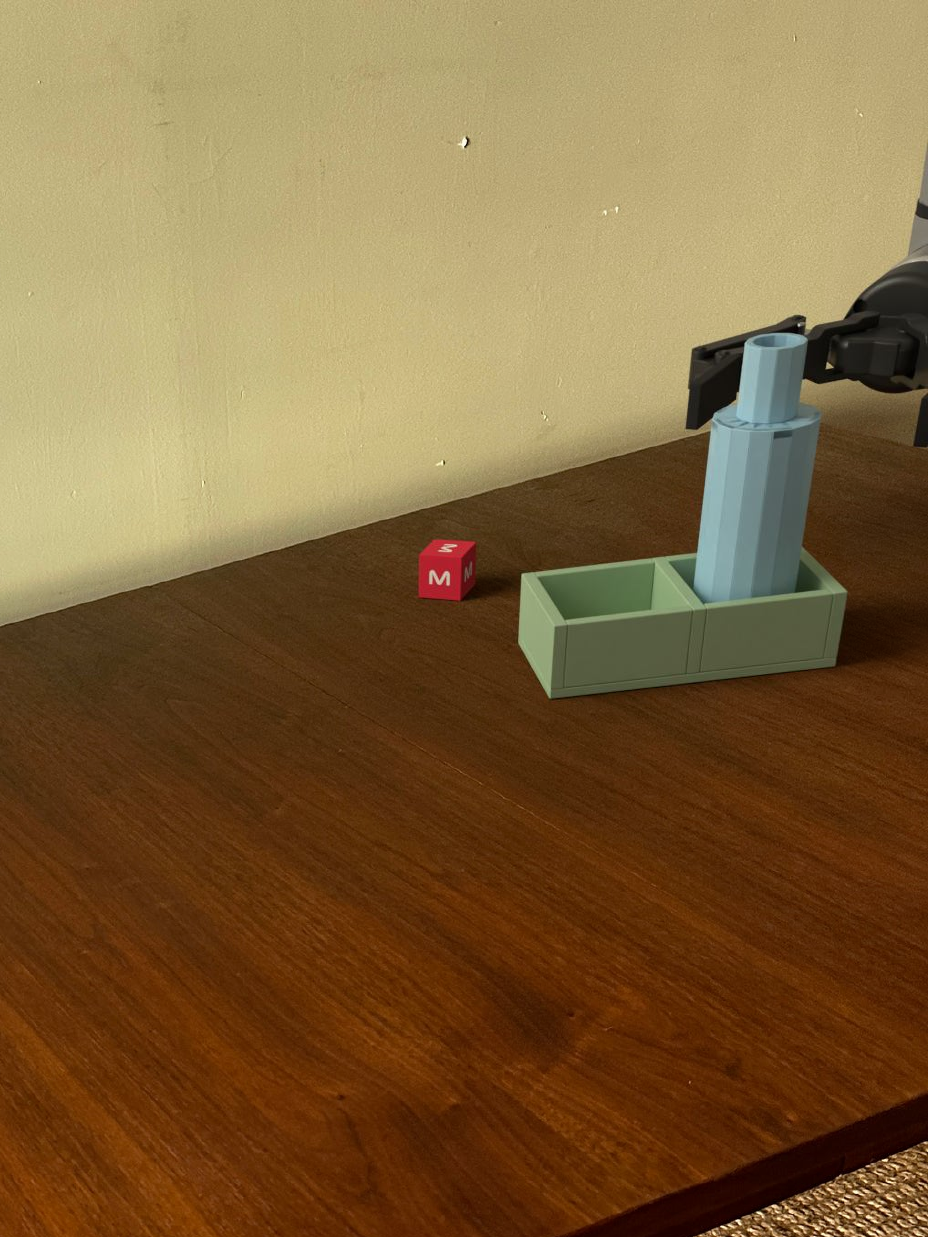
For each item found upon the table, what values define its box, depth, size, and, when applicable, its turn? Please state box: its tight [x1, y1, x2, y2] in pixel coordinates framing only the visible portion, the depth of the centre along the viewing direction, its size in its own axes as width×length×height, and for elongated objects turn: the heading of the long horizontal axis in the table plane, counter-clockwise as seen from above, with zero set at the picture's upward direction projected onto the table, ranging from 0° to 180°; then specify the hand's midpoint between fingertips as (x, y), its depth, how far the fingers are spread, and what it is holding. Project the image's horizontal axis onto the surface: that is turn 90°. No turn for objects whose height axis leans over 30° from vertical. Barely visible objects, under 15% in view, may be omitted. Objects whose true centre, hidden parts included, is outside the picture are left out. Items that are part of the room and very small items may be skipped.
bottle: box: [693, 333, 822, 605], centre depth 104 cm, size 6×6×17 cm
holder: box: [517, 546, 848, 700], centre depth 108 cm, size 17×9×5 cm, turn 90°
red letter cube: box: [418, 538, 477, 602], centre depth 121 cm, size 3×3×3 cm
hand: (804, 415), depth 106 cm, fingers open, 13 cm apart
